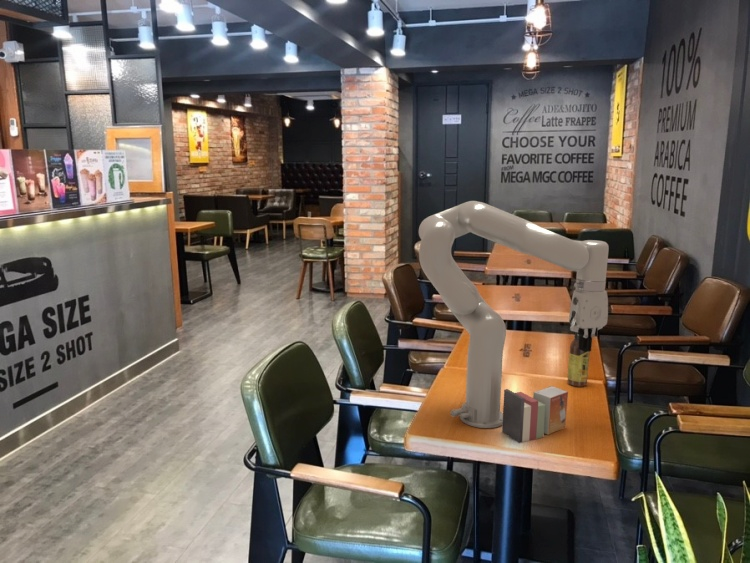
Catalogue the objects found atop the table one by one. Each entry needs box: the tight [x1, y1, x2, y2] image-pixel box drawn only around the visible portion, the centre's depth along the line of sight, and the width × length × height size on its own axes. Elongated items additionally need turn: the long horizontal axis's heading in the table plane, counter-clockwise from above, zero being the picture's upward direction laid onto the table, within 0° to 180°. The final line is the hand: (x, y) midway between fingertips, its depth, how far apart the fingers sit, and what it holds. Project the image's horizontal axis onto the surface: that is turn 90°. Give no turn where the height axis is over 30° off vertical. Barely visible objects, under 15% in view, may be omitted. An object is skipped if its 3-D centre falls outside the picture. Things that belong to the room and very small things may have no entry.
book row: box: [501, 388, 545, 444], centre depth 153 cm, size 8×7×12 cm
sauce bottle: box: [567, 332, 591, 388], centre depth 190 cm, size 6×6×20 cm
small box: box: [532, 386, 569, 435], centre depth 158 cm, size 8×6×10 cm
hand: (584, 350), depth 162 cm, fingers closed
